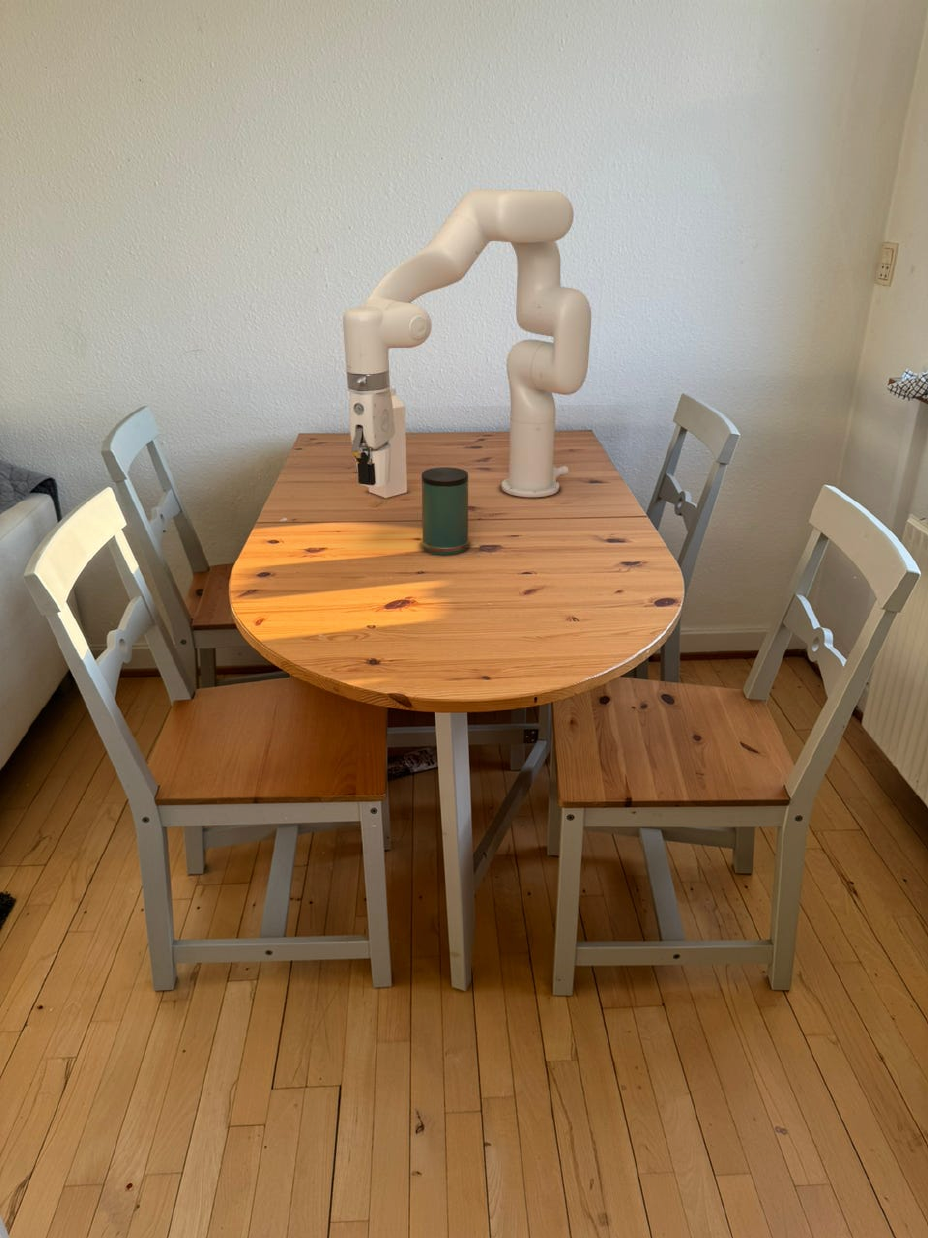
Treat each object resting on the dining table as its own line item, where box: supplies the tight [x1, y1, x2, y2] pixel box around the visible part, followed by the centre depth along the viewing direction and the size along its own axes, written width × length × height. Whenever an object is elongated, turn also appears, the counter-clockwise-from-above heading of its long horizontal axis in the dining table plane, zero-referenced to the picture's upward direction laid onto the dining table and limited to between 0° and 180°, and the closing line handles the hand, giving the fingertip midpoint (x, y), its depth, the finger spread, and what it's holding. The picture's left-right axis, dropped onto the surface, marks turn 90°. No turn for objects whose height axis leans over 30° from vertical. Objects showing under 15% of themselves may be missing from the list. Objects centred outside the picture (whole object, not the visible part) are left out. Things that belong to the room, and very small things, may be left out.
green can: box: [421, 466, 469, 556], centre depth 173 cm, size 8×8×14 cm
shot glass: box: [354, 442, 391, 488], centre depth 174 cm, size 7×7×7 cm
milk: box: [368, 387, 408, 499], centre depth 199 cm, size 6×6×22 cm
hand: (374, 477), depth 175 cm, fingers closed on shot glass, 5 cm apart
